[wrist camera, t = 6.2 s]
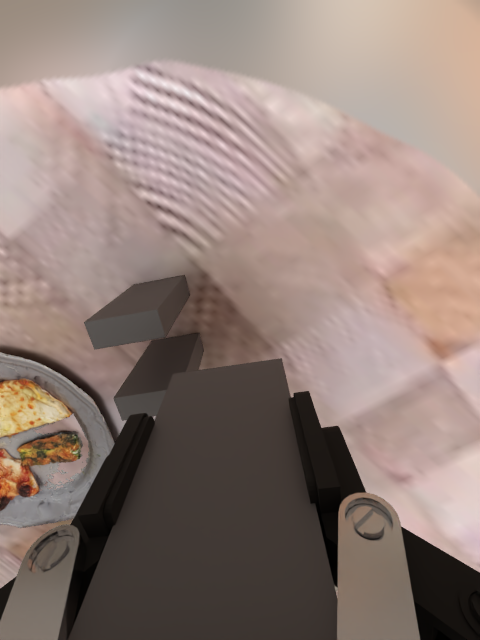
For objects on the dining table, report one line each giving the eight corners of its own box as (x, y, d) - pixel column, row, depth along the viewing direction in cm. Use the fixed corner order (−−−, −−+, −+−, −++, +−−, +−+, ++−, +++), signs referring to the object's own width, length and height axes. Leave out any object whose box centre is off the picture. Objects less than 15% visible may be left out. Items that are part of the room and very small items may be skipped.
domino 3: (286, 395, 15) (359, 733, 6) (183, 409, 15) (87, 748, 6) (281, 358, 14) (355, 674, 5) (173, 374, 14) (45, 696, 5)
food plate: (-29, 525, 42) (-51, 553, 39) (-139, 376, 34) (-179, 394, 31) (150, 490, 40) (142, 515, 37) (76, 325, 33) (57, 338, 29)
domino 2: (203, 350, 32) (187, 410, 23) (157, 358, 33) (122, 420, 23) (199, 332, 32) (180, 387, 22) (151, 340, 32) (113, 398, 23)
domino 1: (189, 295, 30) (165, 337, 21) (140, 304, 31) (94, 349, 21) (184, 275, 30) (157, 309, 20) (133, 284, 30) (84, 322, 21)
